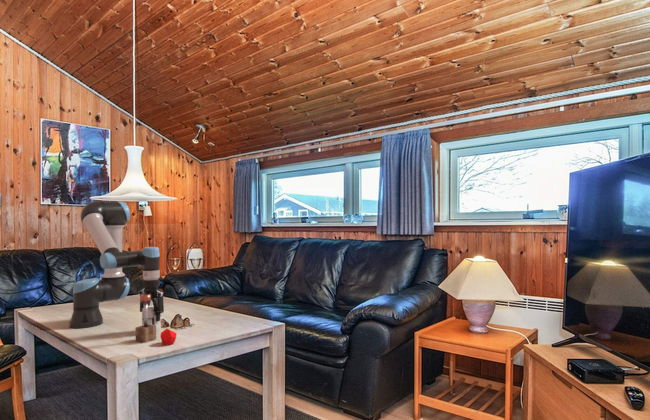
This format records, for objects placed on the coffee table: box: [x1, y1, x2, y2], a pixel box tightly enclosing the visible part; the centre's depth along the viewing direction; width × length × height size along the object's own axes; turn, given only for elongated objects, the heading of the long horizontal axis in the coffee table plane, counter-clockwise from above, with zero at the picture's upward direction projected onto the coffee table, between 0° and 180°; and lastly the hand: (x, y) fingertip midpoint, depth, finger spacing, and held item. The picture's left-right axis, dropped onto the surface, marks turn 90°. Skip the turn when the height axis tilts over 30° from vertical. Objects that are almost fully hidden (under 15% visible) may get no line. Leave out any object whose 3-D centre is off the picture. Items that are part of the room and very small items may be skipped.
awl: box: [139, 294, 152, 327], centre depth 185 cm, size 4×4×15 cm
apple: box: [160, 328, 178, 346], centre depth 179 cm, size 7×7×8 cm
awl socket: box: [134, 325, 157, 343], centre depth 184 cm, size 6×6×6 cm
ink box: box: [141, 304, 162, 332], centre depth 200 cm, size 8×5×12 cm, turn 167°
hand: (151, 327), depth 200 cm, fingers closed on ink box, 6 cm apart
